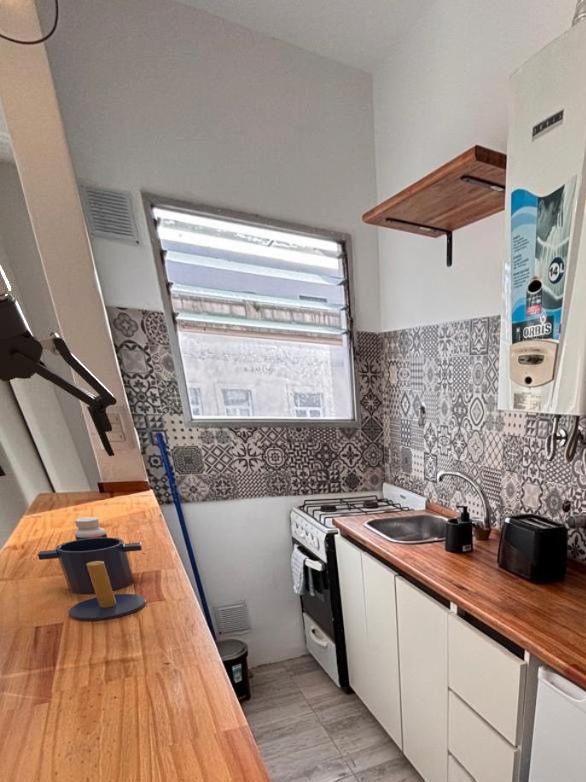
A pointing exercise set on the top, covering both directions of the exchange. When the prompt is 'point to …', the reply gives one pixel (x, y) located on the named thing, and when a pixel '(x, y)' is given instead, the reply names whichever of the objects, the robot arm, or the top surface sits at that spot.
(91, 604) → the lid
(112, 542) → the pot
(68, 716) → the top surface
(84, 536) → the pill bottle
